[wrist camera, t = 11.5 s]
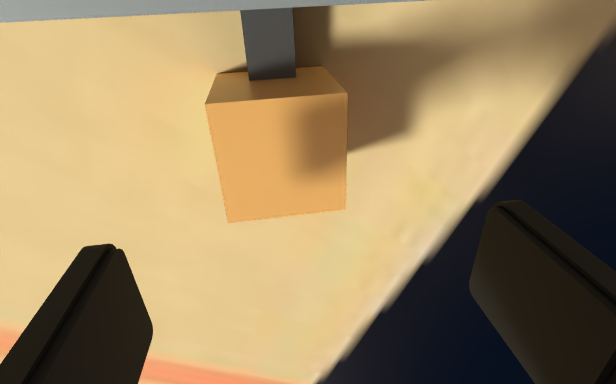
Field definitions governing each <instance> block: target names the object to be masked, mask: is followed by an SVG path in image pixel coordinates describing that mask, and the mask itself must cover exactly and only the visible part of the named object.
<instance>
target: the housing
mask: <svg viewBox="0 0 616 384" xmlns="http://www.w3.org/2000/svg"><path fill="white" fill-rule="evenodd" d="M406 1H425V0H0V23H4V22H23V21H43V20H62V19H81V18H100V17H119V16H138V15H157V14H177V13H196V12H215V11H234V10H253V9H272V8H291V7H311V6H330V5H349V4H368V3H387V2H406Z"/></svg>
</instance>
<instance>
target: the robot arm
mask: <svg viewBox="0 0 616 384" xmlns="http://www.w3.org/2000/svg"><path fill="white" fill-rule="evenodd" d="M469 288H470V292H471V294H472V296H473V298H474V299H475V300H476V302H477V303H478V305H479V306H480V307H481V309H482V310H483V312H484V313H485V314H486V316H487V317H488V319H489V320H490V321H491V323H492V324H493V325H494V327H495V328H496V330H497V331H498V332H499V334H500V335H501V336H502V338H503V339H504V341H505V342H506V343H507V345H508V346H509V348H510V349H511V350H512V352H513V353H514V355H515V356H516V357H517V359H518V360H519V361H520V363H521V364H522V366H523V367H524V368H525V370H526V371H527V373H528V374H529V375H530V377H531V378H532V380H533V381H534V382H535V384H616V272H615V271H614V270H612V269H611V268H610V267H609V266H607V265H606V264H605V263H603V262H602V261H601V260H599V259H598V258H597V257H595V256H594V255H593V254H591V253H590V252H589V251H588V250H586V249H585V248H584V247H582V246H581V245H580V244H578V243H577V242H576V241H574V240H573V239H572V238H571V237H569V236H568V235H567V234H565V233H564V232H563V231H561V230H560V229H559V228H558V227H556V226H555V225H554V224H552V223H551V222H550V221H548V220H547V219H546V218H544V217H543V216H542V215H541V214H539V213H538V212H537V211H535V210H534V209H533V208H531V207H530V206H528V205H527V204H526V203H525V202H523V201H521V200H513V201H503V202H497V203H495V205H494V206H493V208H491V209H489V211H488V213H487V216H486V220H485V223H484V228H483V231H482V236H481V239H480V243H479V247H478V251H477V255H476V259H475V262H474V267H473V270H472V274H471V278H470V282H469ZM152 335H153V326H152V322H151V320H150V317H149V315H148V312H147V309H146V307H145V304H144V302H143V299H142V297H141V294H140V292H139V289H138V287H137V284H136V281H135V279H134V276H133V274H132V271H131V269H130V266H129V264H128V261H127V259H126V256H125V253H124V252H123V250H122V249H116V247H115V246H114V245H113V244H102V245H93V246H86V247H83V248H82V249H81V251H80V252H79V253H78V255H77V256H76V258H75V259H74V261H73V262H72V263H71V265H70V266H69V268H68V269H67V270H66V272H65V273H64V275H63V276H62V278H61V279H60V280H59V282H58V283H57V285H56V286H55V288H54V289H53V290H52V292H51V293H50V295H49V296H48V297H47V299H46V300H45V302H44V303H43V305H42V306H41V307H40V309H39V310H38V312H37V313H36V314H35V316H34V317H33V319H32V320H31V322H30V323H29V324H28V326H27V327H26V329H25V330H24V331H23V333H22V334H21V336H20V337H19V339H18V340H17V341H16V343H15V344H14V346H13V347H12V349H11V350H10V351H9V353H8V354H7V356H6V357H5V358H4V360H3V361H2V363H1V364H0V384H138V382H139V378H140V375H141V372H142V369H143V366H144V362H145V359H146V356H147V353H148V350H149V346H150V343H151V340H152Z"/></svg>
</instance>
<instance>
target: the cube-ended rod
mask: <svg viewBox="0 0 616 384" xmlns="http://www.w3.org/2000/svg"><path fill="white" fill-rule="evenodd" d="M240 12H241V20H242V28H243V36H244V44H245V52H246V60H247V68H248V72H234V73H220V74H217V75H216V77H215V80H214V82H213V85H212V87H211V90H210V92H209V95H208V97H207V100H206V102H205V108H206V113H207V118H208V123H209V128H210V133H211V138H212V143H213V148H214V153H215V159H216V164H217V169H218V174H219V179H220V184H221V189H222V194H223V199H224V205H225V210H226V215H227V220H228V223H232V222H241V221H250V220H258V219H267V218H276V217H284V216H293V215H301V214H310V213H319V212H327V211H336V210H345V209H346V161H347V107H348V92H347V91H346V90H345V89H344V88H343V87H342V86H341V85H340V84H339V83H338V82H337V81H336V80H335V79H334V78H333V77H332V76H331V75H330V73H329V72H328V71H327V70H326V69H325V68H324V67H323V66H317V67H303V68H296V62H295V44H294V27H293V9H292V7H291V8H272V9H253V10H240Z"/></svg>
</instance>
